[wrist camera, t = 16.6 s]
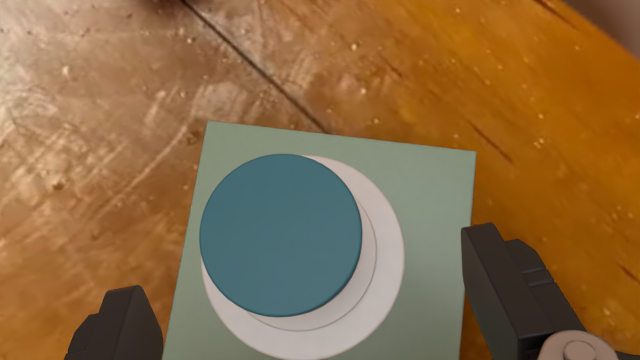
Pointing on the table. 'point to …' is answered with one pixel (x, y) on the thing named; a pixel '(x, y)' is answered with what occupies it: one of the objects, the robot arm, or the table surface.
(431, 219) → the low green table
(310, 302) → the bottle
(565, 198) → the table surface
